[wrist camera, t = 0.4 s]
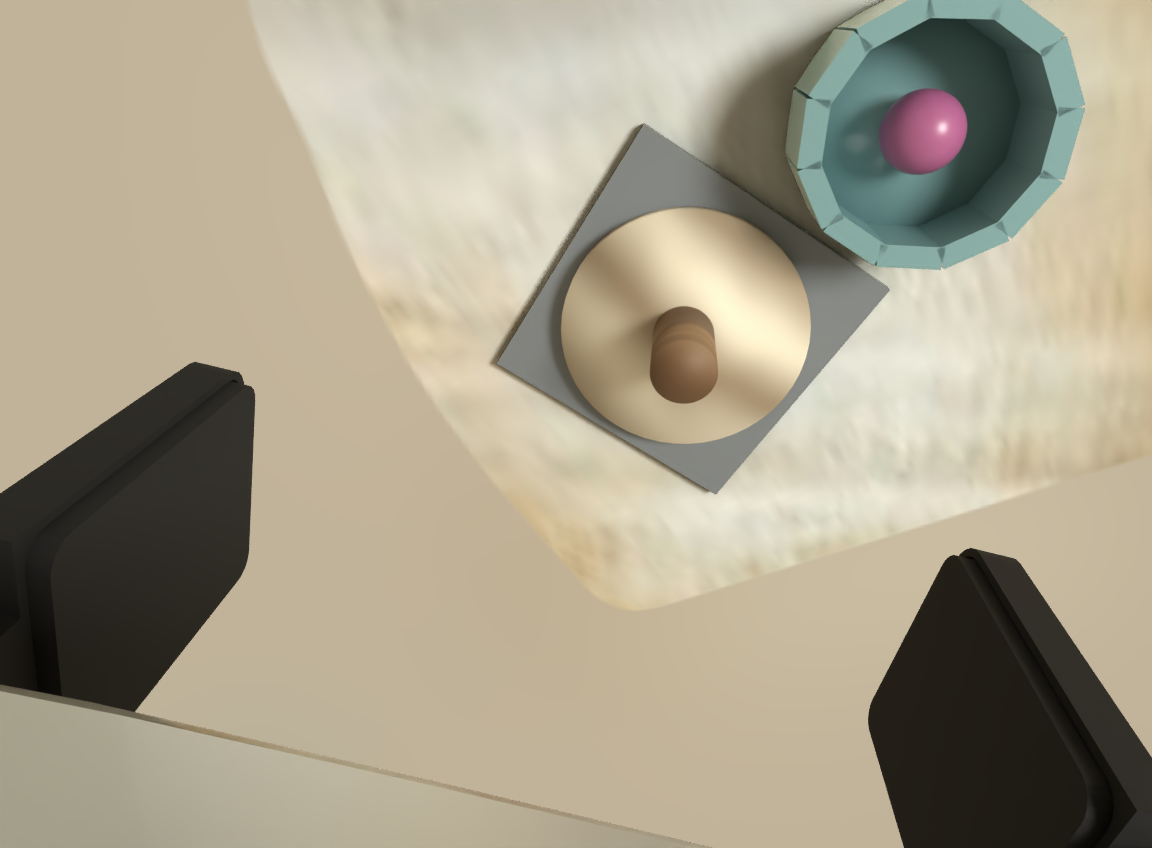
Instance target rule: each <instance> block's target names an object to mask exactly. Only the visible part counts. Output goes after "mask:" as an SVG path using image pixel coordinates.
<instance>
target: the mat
mask: <svg viewBox="0 0 1152 848" xmlns="http://www.w3.org/2000/svg"><path fill="white" fill-rule="evenodd" d="M677 206H697V207H706V208H713V209H717V210H721V211H725V212H728V213H731V214H733V215H736V216H738V217H741V218H743V219H745V220H747V221H749V222H750V223H752V224H754V225H756V226H757V227H759V228H760V229H761V230H763V231H764V232H765V233H767V234H768V235H769V236H771V237H772V238H773V239H774V240H775V241H776V243H777V244H778V245H779V246H780V247H781V248H782V249H783V250H784V251H785V253H786V254H787V256H788V257H789V258H790V260H791V261H792V263H793V265H794V267H795V269H796V270H797V272H798V274H799V276H800V278H801V281H802V283H803V286H804V289H805V292H806V295H807V298H808V304H809V309H810V319H811V332H810V343H809V347H808V351H807V355H806V359H805V362H804V364H803V367H802V369H801V372H800V374H799V376H798V377H797V379H796V381H795V383H794V385H793V386H792V388H791V389H790V390H789V392H788V393H787V395H786V396H785V397H784V399H783V400H782V401H781V402H780V403H779V404H778V405H777V406H776V407H775V408H774V409H773V410H772V411H771V412H769V413H768V414H767V415H766V416H764V417H763V418H762V419H761V420H759V421H758V422H756V423H754V424H753V425H751V426H750V427H748V428H746V429H744V430H742V431H740V432H738V433H735V434H733V435H730V436H727V437H724V438H721V439H718V440H713V441H708V442H703V443H693V444H673V443H665V442H658V441H654V440H650V439H646V438H643V437H640V436H638V435H635V434H632V433H630V432H628V431H626V430H624V429H622V428H620V427H618V426H617V425H615V424H614V423H612V422H611V421H609V420H608V419H606V418H605V417H604V416H603V415H602V414H600V413H599V412H598V411H597V410H596V409H595V408H594V407H593V406H592V405H591V404H590V403H589V402H588V400H587V399H586V398H585V397H584V396H583V394H582V393H581V391H580V390H579V388H578V387H577V385H576V384H575V382H574V380H573V378H572V376H571V374H570V372H569V369H568V366H567V363H566V360H565V357H564V352H563V346H562V337H561V321H562V311H563V307H564V303H565V298H566V295H567V293H568V290H569V287H570V285H571V282H572V280H573V277H574V275H575V273H576V272H577V270H578V268H579V266H580V264H581V263H582V261H583V260H584V259H585V257H586V256H587V255H588V253H589V252H590V251H591V250H592V248H593V247H594V246H595V245H596V244H597V243H598V242H599V241H600V240H601V239H602V238H604V237H605V236H606V235H607V234H609V233H610V232H611V231H612V230H614V229H615V228H617V227H618V226H620V225H622V224H623V223H625V222H627V221H628V220H631V219H633V218H635V217H638V216H640V215H642V214H645V213H648V212H652V211H655V210H659V209H664V208H670V207H677ZM889 291H890V289H889V288H888V287H887V286H886V285H884V284H883V283H881V282H880V281H878V280H877V279H875V278H874V277H872V276H871V275H869V274H868V273H866V272H865V271H863V270H862V269H860V268H859V267H857V266H856V265H855V264H853V263H852V262H850V261H849V260H847V259H846V258H844V257H843V256H841V255H840V254H838V253H837V252H835V251H834V250H832V249H831V248H829V247H828V246H826V245H825V244H823V243H822V242H820V241H819V240H817V239H816V238H814V237H813V236H811V235H810V234H808V233H807V232H805V231H804V230H802V229H801V228H799V227H798V226H796V225H795V224H793V223H792V222H790V221H789V220H787V219H786V218H785V217H783V216H782V215H780V214H779V213H777V212H776V211H774V210H773V209H771V208H770V207H768V206H767V205H765V204H764V203H762V202H761V201H759V200H758V199H756V198H755V197H753V196H752V195H750V194H749V193H747V192H746V191H744V190H743V189H741V188H740V187H738V186H737V185H735V184H734V183H732V182H731V181H729V180H728V179H726V178H725V177H723V176H722V175H720V174H719V173H717V172H716V171H715V170H713V169H712V168H710V167H709V166H707V165H706V164H704V163H703V162H701V161H700V160H698V159H697V158H695V157H694V156H692V155H691V154H689V153H688V152H686V151H685V150H683V149H682V148H680V147H679V146H677V145H676V144H674V143H673V142H671V141H670V140H668V139H667V138H665V137H664V136H662V135H661V134H659V133H658V132H656V131H655V130H653V129H652V128H650V127H649V126H647V125H646V124H645V123H644V124H643V126H642V128H641V129H640V131H639V132H638V134H637V136H636V137H635V139H634V141H633V142H632V144H631V145H630V147H629V149H628V150H627V152H626V154H625V155H624V157H623V158H622V160H621V162H620V163H619V165H618V167H617V168H616V170H615V172H614V173H613V175H612V176H611V178H610V180H609V181H608V183H607V185H606V186H605V188H604V189H603V191H602V193H601V194H600V196H599V198H598V199H597V201H596V202H595V204H594V206H593V207H592V209H591V211H590V212H589V214H588V215H587V217H586V219H585V220H584V222H583V224H582V225H581V227H580V228H579V230H578V232H577V233H576V235H575V237H574V238H573V240H572V241H571V243H570V245H569V246H568V248H567V250H566V251H565V253H564V254H563V256H562V258H561V259H560V261H559V263H558V264H557V266H556V267H555V269H554V271H553V272H552V274H551V276H550V277H549V279H548V280H547V282H546V284H545V285H544V287H543V289H542V290H541V292H540V294H539V295H538V297H537V298H536V300H535V302H534V303H533V305H532V307H531V308H530V310H529V311H528V313H527V315H526V316H525V318H524V320H523V321H522V323H521V324H520V326H519V328H518V329H517V331H516V333H515V334H514V336H513V337H512V339H511V341H510V342H509V344H508V346H507V347H506V349H505V350H504V352H503V354H502V355H501V357H500V359H499V360H498V362H497V364H498V365H500V366H501V367H503V368H505V369H506V370H508V371H510V372H511V373H513V374H515V375H516V376H518V377H520V378H522V379H523V380H525V381H527V382H528V383H530V384H532V385H533V386H535V387H537V388H538V389H540V390H542V391H543V392H545V393H547V394H548V395H550V396H552V397H553V398H555V399H557V400H558V401H560V402H562V403H563V404H565V405H567V406H568V407H570V408H572V409H573V410H575V411H577V412H578V413H580V414H582V415H583V416H585V417H587V418H588V419H590V420H592V421H593V422H595V423H597V424H598V425H600V426H602V427H603V428H605V429H607V430H608V431H610V432H612V433H613V434H615V435H617V436H619V437H620V438H622V439H624V440H625V441H627V442H629V443H630V444H632V445H634V446H635V447H637V448H639V449H640V450H642V451H644V452H645V453H647V454H649V455H650V456H652V457H654V458H655V459H657V460H659V461H660V462H662V463H664V464H665V465H667V466H669V467H670V468H672V469H674V470H675V471H677V472H679V473H680V474H682V475H684V476H685V477H687V478H689V479H690V480H692V481H694V482H695V483H697V484H699V485H700V486H702V487H704V488H705V489H707V490H709V491H710V492H712V493H714V494H717V493H718V491H719V490H720V489H721V488H722V487H723V486H724V484H725V483H726V482H727V481H728V480H729V478H730V477H731V476H732V475H733V474H734V473H735V471H736V470H737V469H738V468H739V467H740V466H741V464H742V463H743V462H744V461H745V460H746V458H747V457H748V456H749V455H750V454H751V453H752V451H753V450H754V449H755V448H756V447H757V446H758V444H759V443H760V442H761V441H762V440H763V439H764V437H765V436H766V435H767V434H768V433H769V431H770V430H771V429H772V428H773V427H774V426H775V424H776V423H777V422H778V421H779V420H780V419H781V417H782V416H783V415H784V414H785V413H786V412H787V410H788V409H789V408H790V407H791V406H792V404H793V403H794V402H795V401H796V400H797V399H798V397H799V396H800V395H801V394H802V393H803V392H804V390H805V389H806V388H807V387H808V386H809V384H810V383H811V382H812V381H813V380H814V379H815V377H816V376H817V375H818V374H819V373H820V372H821V370H822V369H823V368H824V367H825V366H826V365H827V363H828V362H829V361H830V360H831V359H832V357H833V356H834V355H835V354H836V353H837V352H838V350H839V349H840V348H841V347H842V346H843V345H844V343H845V342H846V341H847V340H848V339H849V338H850V336H851V335H852V334H853V333H854V332H855V330H856V329H857V328H858V327H859V326H860V325H861V323H862V322H863V321H864V320H865V319H866V318H867V316H868V315H869V314H870V313H871V312H872V310H873V309H874V308H875V307H876V306H877V305H878V303H879V302H880V301H881V300H882V299H883V298H884V296H885V295H886V294H887V293H888V292H889Z"/></svg>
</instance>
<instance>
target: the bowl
mask: <svg viewBox="0 0 1152 848" xmlns="http://www.w3.org/2000/svg"><path fill="white" fill-rule="evenodd" d="M837 28H838V29H834V30H833V31H832V33H831V34H830V36H829V37H828V39H827V40H826V41H825V42H824V43H823V45H822V46H821V47H820V49H819V50H818V51H817V52H816V54H815V55H814V56H813V58H812V59H811V61H810V62H809V64H808V66H807V67H806V69H805V71H804V72H803V74H802V76H801V78H800V79H799V81H798V82H797V84H796V85H795V87H796V90H794V89H793V96H792V102H791V107H790V112H789V117H788V125H787V141H786V148H785V153H786V154H787V155H785V156H786V158H787V161H788V163H789V165H790V168H791V170H792V172H793V175H794V178H795V181H796V183H797V185H798V187H799V189H800V192H801V194H802V196H803V199H804V201H805V203H806V206H807V208H808V210H809V211H810V213H811V214H812V216H813V217H814V219H815V220H816V222H817V223H818V225H819V226H820V228H821V229H822V230H823V232H824V233H826V234H827V235H829V236H830V237H832V238H833V239H835V240H836V241H838V242H839V243H841V244H842V245H844V246H845V247H847V248H848V249H850V250H851V251H853V252H854V253H856V254H857V255H859V256H860V257H862V258H863V259H865V260H866V261H867V262H869V263H870V264H872V265H874V264H875V265H876V266H877V267H897V268H916V269H935V270H941V267H942V268H943V269H946V268H948V267H950V266H952V265H955V264H957V263H959V262H962V261H964V260H966V259H968V258H971V257H973V256H975V255H978V254H980V253H982V252H984V251H987V250H989V249H991V248H994V247H996V246H998V245H1000V244H1003V243H1005V242H1007V241H1009V239H1008V236H1009V237H1010V238H1013V237H1014V236H1015V235H1016V234H1017V233H1018V231H1019V230H1020V229H1021V228H1022V227H1023V226H1024V225H1025V224H1026V223H1027V221H1028V220H1029V219H1030V218H1031V217H1032V216H1033V215H1034V214H1035V213H1036V211H1037V210H1038V209H1039V208H1040V207H1041V206H1042V205H1043V204H1044V203H1045V202H1046V200H1047V199H1048V198H1049V197H1050V196H1051V195H1052V194H1053V193H1054V192H1055V190H1056V189H1057V188H1058V187H1059V186H1060V185H1061V184H1062V182H1061V181H1059V180H1058V179H1065V175H1066V172H1067V168H1068V165H1069V161H1070V158H1071V155H1072V151H1073V148H1074V144H1075V141H1076V137H1077V134H1078V131H1079V127H1080V124H1081V120H1082V117H1083V113H1084V110H1085V108H1082V107H1081V106H1083V105H1085V102H1084V98H1083V95H1082V91H1081V87H1080V84H1079V80H1078V76H1077V73H1076V69H1075V65H1074V62H1073V58H1072V54H1071V50H1070V47H1069V43H1068V39H1067V37H1063V35H1064V33H1063V32H1062V31H1061V30H1059V29H1058V28H1057V27H1055V26H1054V25H1053V24H1051V23H1050V22H1049V21H1047V20H1046V19H1045V18H1043V17H1042V16H1041V15H1040V14H1038V13H1037V12H1036V11H1034V10H1033V9H1032V8H1030V7H1029V6H1028V5H1026V4H1025V3H1024V2H1023V1H1021V0H884V1H882V2H880V3H878V4H876V5H874V6H872V7H870V8H868V9H866V10H864V11H862V12H861V13H859V14H858V15H856V16H854V17H853V18H851V19H850V20H848V21H846V22H844V23H842V24H841V25H839V26H837ZM924 88H933V89H939V90H943V91H945V92H947V93H949V94H951V95H952V96H954V97H955V98H956V99H957V100H958V101H959V102H960V104H961V105H962V107H963V109H964V111H965V114H966V118H967V134H966V138H965V141H964V144H963V146H962V148H961V149H960V151H959V153H958V154H957V155H956V156H955V158H954V159H953V160H952V161H951V162H949V163H948V164H947V165H946V166H944V167H943V168H941V169H939V170H937V171H935V172H932V173H928V174H923V175H911V174H906V173H903V172H901V171H898V170H897V169H895V168H893V167H892V166H891V165H890V164H889V163H888V162H887V161H886V159H885V158H884V156H883V154H882V152H881V149H880V146H879V129H880V125H881V122H882V119H883V117H884V115H885V113H886V112H887V110H888V109H889V108H890V107H891V105H892V104H893V103H894V102H895V101H897V100H898V99H899V98H901V97H902V96H904V95H905V94H907V93H909V92H912V91H915V90H918V89H924ZM1007 235H1008V236H1007Z"/></svg>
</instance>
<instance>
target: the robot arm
mask: <svg viewBox="0 0 1152 848" xmlns="http://www.w3.org/2000/svg"><path fill="white" fill-rule="evenodd" d="M254 412H255V393H254V389H253V388H252V387H251V386H247V385H244V381H243V378H242V376H241V374H240V373H239V372H235V371H231V370H227V369H223V368H219V367H215V366H210V365H206V364H202V363H197V362H193V363H191V364H189V365H187V366H186V367H184V368H183V369H181V370H180V371H178V372H177V373H175V374H174V375H173V376H171V377H170V378H168V379H167V380H165V381H164V382H163V383H161V384H160V385H158V386H156V387H155V388H154V389H152V390H151V391H149V392H148V393H146V394H145V395H143V396H142V397H140V398H139V399H138V400H136V401H135V402H133V403H132V404H130V405H129V406H127V407H126V408H125V409H123V410H122V411H120V412H119V413H117V414H116V415H114V416H113V417H111V418H110V419H108V420H107V421H105V422H104V423H102V424H101V425H100V426H98V427H97V428H95V429H94V430H92V431H91V432H89V433H88V434H86V435H85V436H84V437H82V438H81V439H79V440H78V441H76V442H75V443H74V444H72V445H70V446H69V447H67V448H66V449H65V450H63V451H62V452H60V453H59V454H57V455H56V456H54V457H53V458H51V459H50V460H49V461H47V462H46V463H44V464H43V465H41V466H40V467H38V468H37V469H35V470H34V471H32V472H31V473H29V474H28V475H27V476H25V477H24V478H23V479H21V480H19V481H18V482H17V483H15V484H13V485H12V486H11V487H9V488H8V489H6V490H5V491H3V492H2V493H0V848H712V847H708V846H704V845H700V844H695V843H691V842H687V841H683V840H679V839H674V838H670V837H666V836H662V835H658V834H653V833H650V832H645V831H641V830H637V829H633V828H629V827H624V826H620V825H616V824H611V823H607V822H603V821H599V820H595V819H591V818H587V817H583V816H578V815H574V814H570V813H566V812H561V811H557V810H553V809H549V808H545V807H540V806H536V805H531V804H528V803H523V802H519V801H514V800H511V799H506V798H502V797H498V796H494V795H490V794H485V793H481V792H477V791H473V790H469V789H464V788H460V787H456V786H452V785H447V784H443V783H439V782H434V781H431V780H426V779H422V778H418V777H413V776H409V775H405V774H400V773H396V772H392V771H387V770H383V769H379V768H374V767H370V766H366V765H361V764H357V763H353V762H349V761H344V760H340V759H335V758H331V757H327V756H323V755H318V754H314V753H310V752H305V751H301V750H296V749H292V748H288V747H284V746H279V745H275V744H271V743H266V742H262V741H258V740H254V739H249V738H245V737H241V736H236V735H232V734H228V733H223V732H219V731H215V730H210V729H206V728H202V727H197V726H193V725H188V724H184V723H180V722H176V721H171V720H167V719H162V718H158V717H154V716H149V715H145V714H140V713H136V712H135V711H136V709H137V708H138V707H139V706H140V704H141V703H142V702H143V701H144V699H145V698H146V697H147V696H148V694H149V693H150V692H151V690H152V689H153V688H154V686H155V685H156V684H157V683H158V681H159V680H160V679H161V678H162V676H163V675H164V674H165V673H166V671H167V670H168V669H169V668H170V666H171V665H172V664H173V662H174V661H175V660H176V659H177V657H178V656H179V655H180V654H181V652H182V651H183V650H184V648H185V647H186V646H187V645H188V643H189V642H190V641H191V640H192V638H193V637H194V636H195V634H196V633H197V632H198V631H199V629H200V628H201V627H202V625H203V624H204V623H205V622H206V621H207V619H208V618H209V617H210V615H211V614H212V613H213V612H214V610H215V609H216V608H217V606H218V605H219V604H220V603H221V601H222V600H223V599H224V598H225V596H226V595H227V594H228V592H229V591H230V590H231V589H232V587H233V586H234V585H235V584H236V582H237V581H238V580H239V578H240V577H241V575H242V573H243V571H244V569H245V566H246V563H247V559H248V554H249V536H250V511H251V486H252V463H253V437H254V414H255V413H254ZM868 725H869V731H870V734H871V738H872V741H873V744H874V748H875V751H876V755H877V758H878V761H879V764H880V768H881V771H882V775H883V778H884V781H885V784H886V788H887V791H888V795H889V798H890V801H891V805H892V809H893V812H894V815H895V819H896V822H897V825H898V829H899V832H900V836H901V839H902V842H903V845H904V848H1152V757H1151V756H1150V755H1149V753H1148V752H1147V750H1146V749H1145V747H1144V746H1143V744H1142V743H1141V741H1140V740H1139V738H1138V737H1137V735H1136V734H1135V732H1134V731H1133V729H1132V728H1131V726H1130V725H1129V723H1128V722H1127V721H1126V719H1125V717H1124V716H1123V715H1122V713H1121V712H1120V710H1119V709H1118V707H1117V706H1116V704H1115V703H1114V702H1113V700H1112V698H1111V697H1110V695H1109V694H1108V692H1107V691H1106V689H1105V688H1104V686H1103V685H1102V684H1101V682H1100V681H1099V679H1098V678H1097V676H1096V675H1095V673H1094V672H1093V670H1092V669H1091V667H1090V666H1089V664H1088V663H1087V661H1086V660H1085V658H1084V657H1083V655H1082V654H1081V653H1080V651H1079V650H1078V648H1077V647H1076V645H1075V644H1074V642H1073V641H1072V639H1071V638H1070V636H1069V635H1068V634H1067V632H1066V630H1065V629H1064V627H1063V626H1062V625H1061V623H1060V622H1059V620H1058V619H1057V617H1056V616H1055V614H1054V613H1053V611H1052V610H1051V608H1050V607H1049V606H1048V604H1047V602H1046V601H1045V599H1044V598H1043V596H1042V595H1041V593H1040V592H1039V591H1038V589H1037V588H1036V586H1035V585H1034V583H1033V582H1032V580H1031V579H1030V577H1029V576H1028V574H1027V573H1026V571H1025V570H1024V568H1023V567H1022V565H1021V564H1020V563H1019V562H1018V561H1017V560H1016V559H1014V558H1010V557H1006V556H1002V555H997V554H993V553H989V552H984V551H980V550H977V549H973V548H970V549H966V550H964V551H963V552H962V553H961V554H960V555H959V556H955V555H952V556H950V557H949V558H947V559H946V560H945V562H944V563H943V565H942V567H941V569H940V571H939V573H938V575H937V577H936V578H935V580H934V582H933V585H932V586H931V588H930V590H929V592H928V594H927V596H926V598H925V600H924V602H923V603H922V605H921V607H920V609H919V611H918V613H917V615H916V617H915V619H914V621H913V623H912V625H911V627H910V629H909V631H908V633H907V635H906V636H905V638H904V640H903V642H902V644H901V646H900V648H899V650H898V652H897V654H896V656H895V657H894V659H893V661H892V663H891V665H890V667H889V669H888V671H887V673H886V675H885V677H884V679H883V681H882V683H881V684H880V686H879V688H878V690H877V692H876V694H875V696H874V698H873V700H872V702H871V705H870V709H869V716H868Z"/></svg>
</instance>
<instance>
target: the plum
mask: <svg viewBox="0 0 1152 848" xmlns="http://www.w3.org/2000/svg"><path fill="white" fill-rule="evenodd" d="M966 134H967V118H966V114H965V111H964V109H963V107H962V105H961V104H960V102H959V101H958V100H957V99H956V98H955V97H954V96H952V95H951V94H949V93H947V92H945V91H943V90H939V89H933V88H924V89H918V90H915V91H912V92H909V93H907V94H905V95H904V96H902V97H901V98H899V99H898V100H897V101H895V102H894V103H893V104H892V105H891V107H890V108H889V109H888V110H887V112H886V113H885V115H884V117H883V119H882V122H881V125H880V129H879V146H880V149H881V152H882V154H883V156H884V158H885V159H886V161H887V162H888V163H889V164H890V165H891V166H892V167H893V168H895V169H897V170H898V171H901V172H903V173H906V174H911V175H923V174H928V173H932V172H935V171H937V170H939V169H941V168H943V167H944V166H946V165H947V164H948V163H949V162H951V161H952V160H953V159H954V158H955V156H956V155H957V154H958V153H959V151H960V149H961V148H962V146H963V144H964V141H965V138H966Z"/></svg>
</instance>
